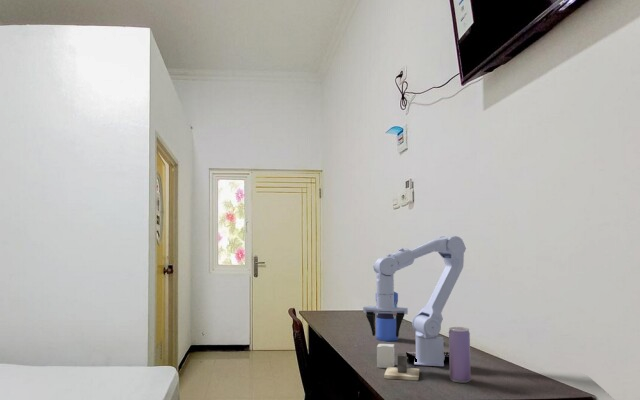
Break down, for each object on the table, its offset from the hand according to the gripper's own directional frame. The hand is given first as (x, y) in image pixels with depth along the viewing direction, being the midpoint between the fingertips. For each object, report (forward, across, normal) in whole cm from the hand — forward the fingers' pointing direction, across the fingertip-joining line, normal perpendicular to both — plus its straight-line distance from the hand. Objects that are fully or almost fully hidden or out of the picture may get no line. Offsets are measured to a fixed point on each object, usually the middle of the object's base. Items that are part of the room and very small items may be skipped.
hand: (385, 335), depth 164 cm
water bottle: (+10, +4, -46) cm, 47 cm away
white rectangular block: (+10, 0, 0) cm, 10 cm away
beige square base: (+10, -6, +10) cm, 15 cm away
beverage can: (+10, -23, +12) cm, 28 cm away
